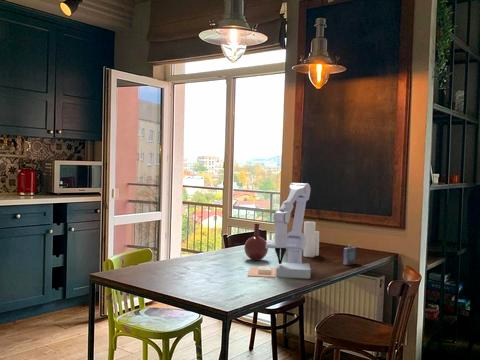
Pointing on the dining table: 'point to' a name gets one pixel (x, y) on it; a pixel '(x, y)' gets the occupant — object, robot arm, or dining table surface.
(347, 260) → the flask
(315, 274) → the dining table surface
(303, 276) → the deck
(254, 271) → the mat
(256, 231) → the round-bottom flask
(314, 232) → the white tall block
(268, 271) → the tile
